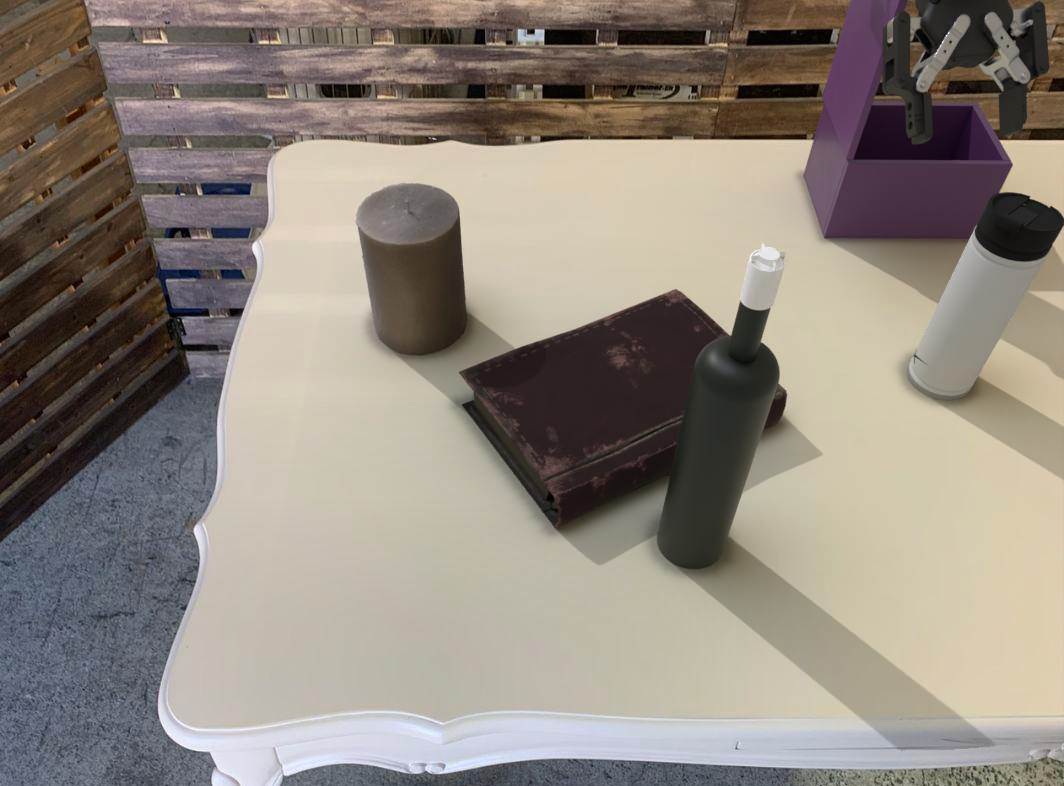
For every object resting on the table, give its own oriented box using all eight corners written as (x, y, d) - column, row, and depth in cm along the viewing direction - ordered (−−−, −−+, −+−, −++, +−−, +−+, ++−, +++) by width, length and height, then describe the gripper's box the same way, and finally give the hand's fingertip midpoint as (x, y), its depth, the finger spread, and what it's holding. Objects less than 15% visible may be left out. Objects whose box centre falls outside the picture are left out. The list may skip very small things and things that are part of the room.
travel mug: (890, 382, 90) (974, 205, 73) (925, 351, 92) (1013, 173, 76) (946, 415, 87) (1046, 239, 71) (980, 382, 90) (1083, 205, 74)
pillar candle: (482, 341, 93) (477, 213, 81) (394, 370, 90) (376, 243, 78) (444, 286, 98) (434, 158, 86) (359, 313, 95) (337, 185, 83)
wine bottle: (732, 565, 77) (834, 277, 52) (668, 578, 76) (741, 291, 51) (709, 513, 80) (794, 218, 55) (647, 525, 79) (707, 231, 55)
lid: (885, -90, 87) (834, -91, 87) (919, -33, 80) (863, -34, 80) (829, 97, 102) (785, 96, 102) (853, 159, 95) (806, 158, 95)
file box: (944, 180, 111) (977, 102, 103) (975, 243, 103) (1013, 164, 95) (802, 179, 110) (824, 101, 102) (822, 242, 103) (848, 163, 95)
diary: (780, 430, 86) (793, 393, 82) (558, 537, 78) (560, 501, 74) (665, 318, 95) (672, 279, 91) (457, 403, 87) (454, 365, 83)
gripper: (907, -79, 73) (916, 132, 75) (1068, -89, 74) (1071, 118, 77) (860, -35, 80) (870, 156, 83) (1008, -45, 82) (1013, 143, 84)
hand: (967, 138), depth 80 cm, fingers open, 8 cm apart
